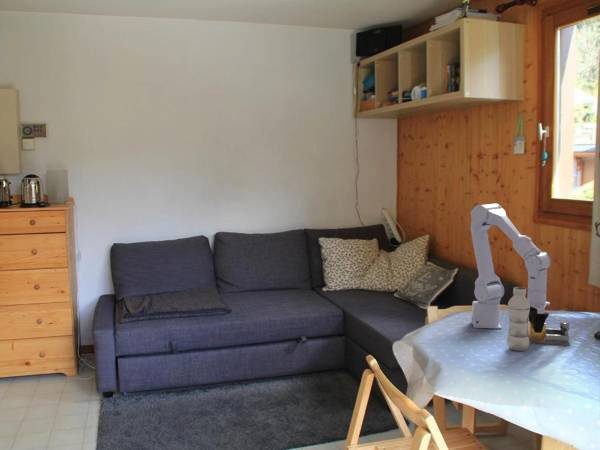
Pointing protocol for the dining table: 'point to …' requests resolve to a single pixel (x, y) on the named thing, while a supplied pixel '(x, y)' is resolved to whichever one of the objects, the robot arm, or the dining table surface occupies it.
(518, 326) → the plastic bottle
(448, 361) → the dining table surface
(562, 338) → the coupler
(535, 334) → the block
